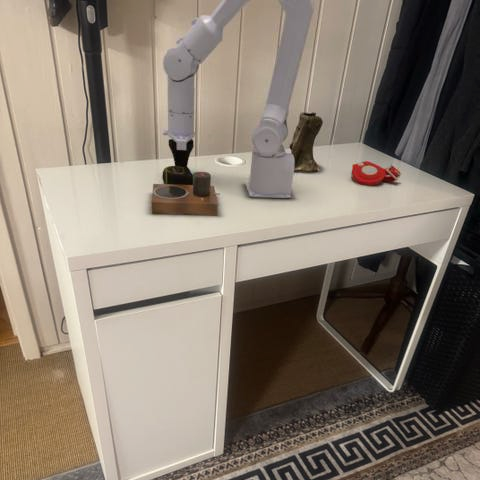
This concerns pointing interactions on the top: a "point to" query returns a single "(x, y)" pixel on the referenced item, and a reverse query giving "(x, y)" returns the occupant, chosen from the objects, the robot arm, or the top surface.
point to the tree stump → (305, 141)
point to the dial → (201, 184)
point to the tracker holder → (373, 173)
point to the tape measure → (177, 175)
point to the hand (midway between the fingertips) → (181, 172)
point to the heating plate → (170, 192)
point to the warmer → (185, 202)
